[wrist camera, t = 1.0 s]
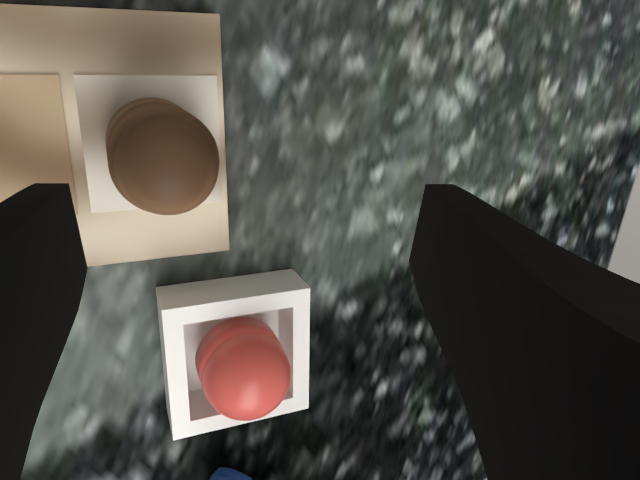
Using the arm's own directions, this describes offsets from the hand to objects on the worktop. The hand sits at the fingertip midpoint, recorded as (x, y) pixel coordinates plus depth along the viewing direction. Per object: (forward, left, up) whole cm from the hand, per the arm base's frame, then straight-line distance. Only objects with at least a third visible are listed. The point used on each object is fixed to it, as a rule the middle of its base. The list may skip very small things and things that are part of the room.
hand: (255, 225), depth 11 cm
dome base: (-13, -3, -18) cm, 22 cm away
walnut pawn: (-1, +1, -17) cm, 17 cm away
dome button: (-13, -3, -16) cm, 21 cm away
